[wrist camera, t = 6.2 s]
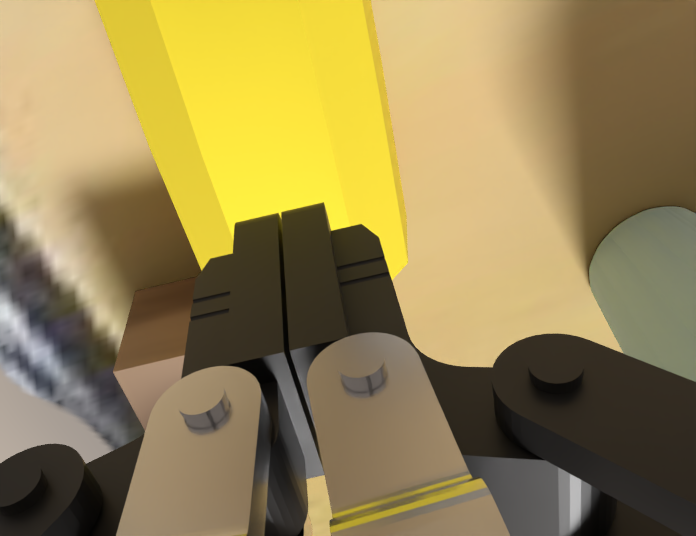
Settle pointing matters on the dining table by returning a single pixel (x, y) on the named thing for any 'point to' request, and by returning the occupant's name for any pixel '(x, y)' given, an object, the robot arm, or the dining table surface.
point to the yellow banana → (263, 113)
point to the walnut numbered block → (154, 344)
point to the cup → (651, 287)
